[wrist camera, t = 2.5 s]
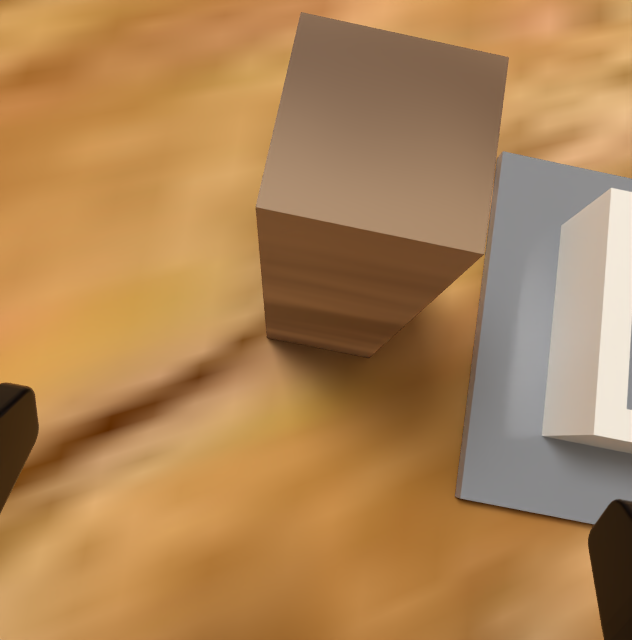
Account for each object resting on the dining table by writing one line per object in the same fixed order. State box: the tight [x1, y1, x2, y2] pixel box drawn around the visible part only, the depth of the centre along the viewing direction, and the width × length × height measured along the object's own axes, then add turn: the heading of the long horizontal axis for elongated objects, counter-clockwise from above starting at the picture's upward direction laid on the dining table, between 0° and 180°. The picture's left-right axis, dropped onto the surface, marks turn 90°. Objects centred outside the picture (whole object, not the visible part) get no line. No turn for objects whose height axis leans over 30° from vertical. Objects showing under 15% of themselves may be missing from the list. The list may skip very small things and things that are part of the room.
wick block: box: [256, 12, 509, 358], centre depth 16 cm, size 4×4×12 cm
